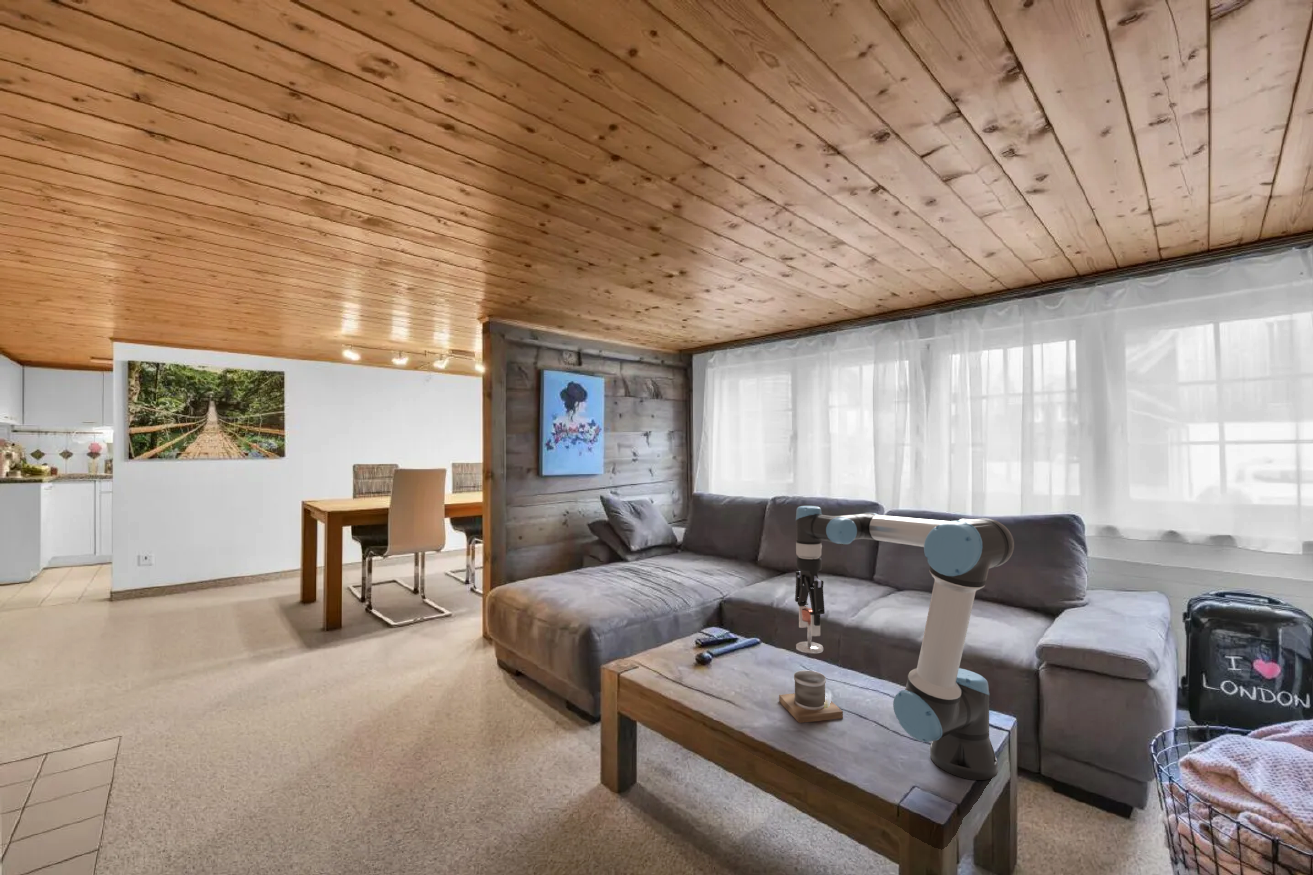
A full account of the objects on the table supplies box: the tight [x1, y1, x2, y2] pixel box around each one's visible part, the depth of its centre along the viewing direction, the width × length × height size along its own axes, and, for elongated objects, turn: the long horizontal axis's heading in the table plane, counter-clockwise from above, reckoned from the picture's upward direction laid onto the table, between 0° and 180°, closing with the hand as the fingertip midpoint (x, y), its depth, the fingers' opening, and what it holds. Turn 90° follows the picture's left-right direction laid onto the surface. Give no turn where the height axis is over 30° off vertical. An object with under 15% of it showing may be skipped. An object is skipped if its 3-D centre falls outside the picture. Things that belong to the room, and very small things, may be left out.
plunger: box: [795, 607, 824, 655], centre depth 170 cm, size 8×8×12 cm
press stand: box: [778, 669, 844, 724], centre depth 169 cm, size 14×14×10 cm
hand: (809, 631), depth 170 cm, fingers open, 7 cm apart
